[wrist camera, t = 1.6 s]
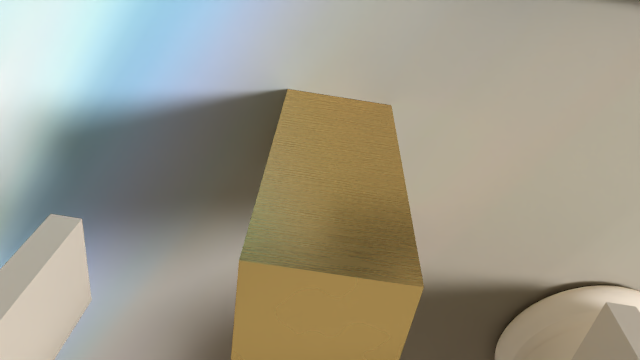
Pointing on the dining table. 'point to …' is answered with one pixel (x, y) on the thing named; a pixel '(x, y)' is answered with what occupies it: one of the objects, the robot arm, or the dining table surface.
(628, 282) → the dining table surface
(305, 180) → the gold rectangular block
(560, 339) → the jar
